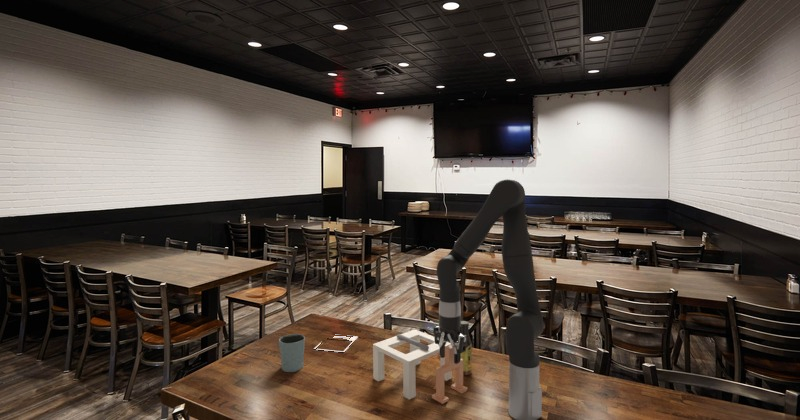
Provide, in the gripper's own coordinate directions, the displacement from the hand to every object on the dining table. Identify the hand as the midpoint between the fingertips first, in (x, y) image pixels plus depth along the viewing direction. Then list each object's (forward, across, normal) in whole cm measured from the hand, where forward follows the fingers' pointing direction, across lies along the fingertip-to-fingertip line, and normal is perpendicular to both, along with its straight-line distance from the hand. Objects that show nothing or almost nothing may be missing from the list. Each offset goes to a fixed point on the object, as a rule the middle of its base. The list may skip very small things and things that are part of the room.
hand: (449, 359), depth 140 cm
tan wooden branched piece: (+12, 0, 0) cm, 12 cm away
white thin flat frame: (+13, +65, +5) cm, 67 cm away
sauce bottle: (+13, +7, -16) cm, 22 cm away
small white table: (+12, +17, +2) cm, 21 cm away
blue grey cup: (+13, +57, +31) cm, 66 cm away
